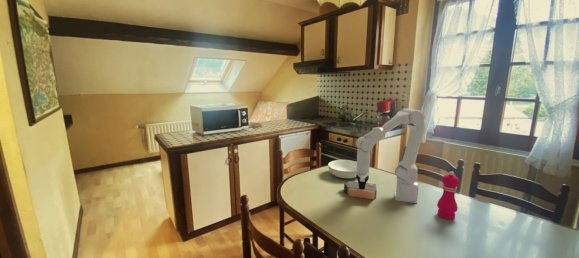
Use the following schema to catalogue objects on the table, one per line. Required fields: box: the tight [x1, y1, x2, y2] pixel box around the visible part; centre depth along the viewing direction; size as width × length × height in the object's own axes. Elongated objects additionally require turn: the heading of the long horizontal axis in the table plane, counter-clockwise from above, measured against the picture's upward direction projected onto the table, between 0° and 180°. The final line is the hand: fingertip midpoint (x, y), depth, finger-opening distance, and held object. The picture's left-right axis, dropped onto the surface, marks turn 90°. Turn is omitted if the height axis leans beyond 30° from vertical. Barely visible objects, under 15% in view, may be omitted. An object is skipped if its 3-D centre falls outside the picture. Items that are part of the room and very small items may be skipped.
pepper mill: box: [436, 171, 460, 221], centre depth 101 cm, size 7×7×20 cm
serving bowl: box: [327, 159, 357, 179], centre depth 147 cm, size 21×21×7 cm
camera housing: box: [343, 180, 378, 200], centre depth 123 cm, size 16×8×5 cm, turn 73°
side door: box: [348, 188, 375, 201], centre depth 116 cm, size 12×1×7 cm
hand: (361, 190), depth 114 cm, fingers closed, pressing on side door
